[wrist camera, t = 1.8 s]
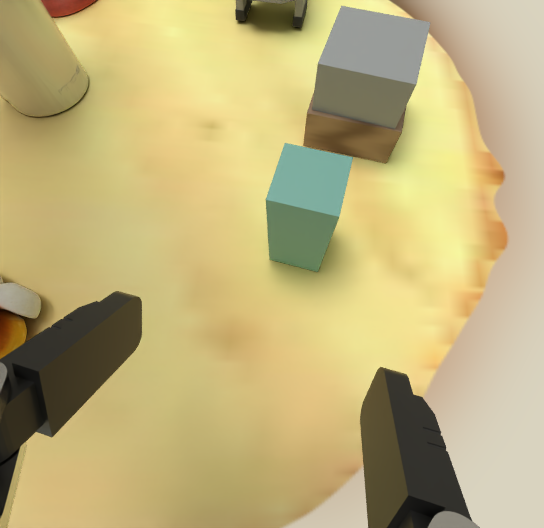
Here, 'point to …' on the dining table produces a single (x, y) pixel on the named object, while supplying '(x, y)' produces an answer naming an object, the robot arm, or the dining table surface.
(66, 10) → the stacking bear
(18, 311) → the rainbow petal toy
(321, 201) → the green block
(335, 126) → the walnut base block
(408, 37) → the gray top block
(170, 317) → the dining table surface
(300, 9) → the figurine
